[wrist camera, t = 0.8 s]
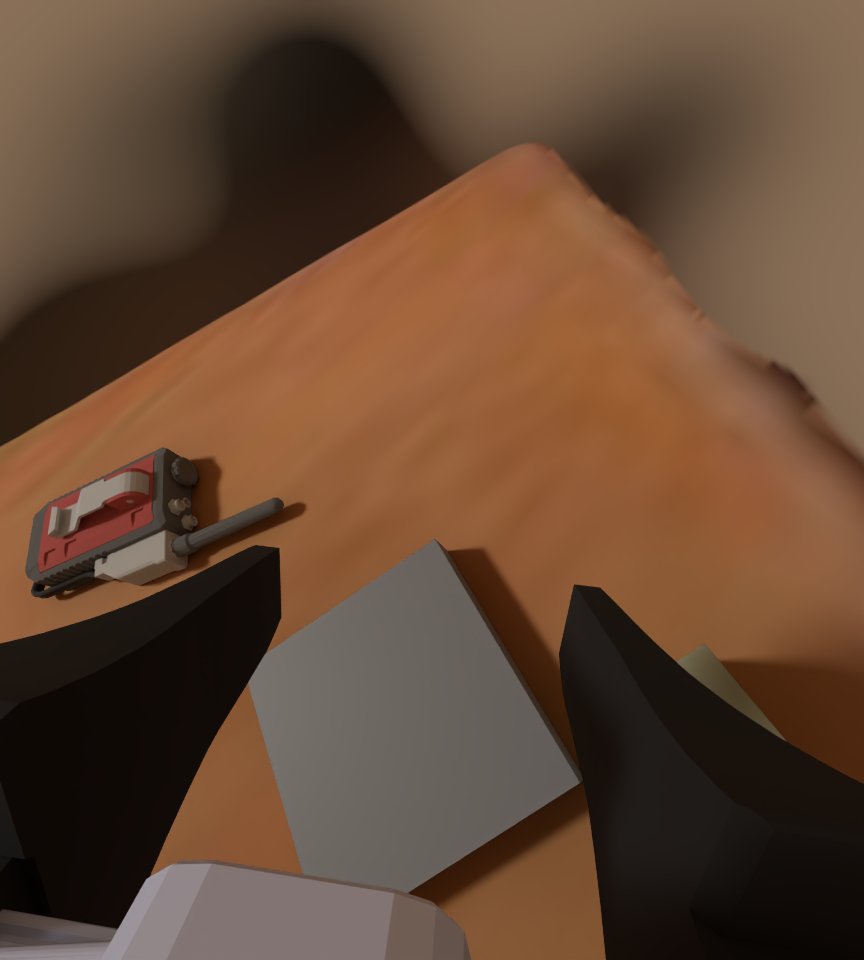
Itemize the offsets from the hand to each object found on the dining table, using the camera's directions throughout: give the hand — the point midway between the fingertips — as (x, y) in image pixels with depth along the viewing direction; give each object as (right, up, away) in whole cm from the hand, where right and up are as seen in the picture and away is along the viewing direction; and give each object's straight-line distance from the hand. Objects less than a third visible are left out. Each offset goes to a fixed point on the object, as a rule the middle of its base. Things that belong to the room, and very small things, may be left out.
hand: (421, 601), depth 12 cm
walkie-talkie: (-18, 0, +24) cm, 30 cm away
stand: (-1, -9, +12) cm, 15 cm away
